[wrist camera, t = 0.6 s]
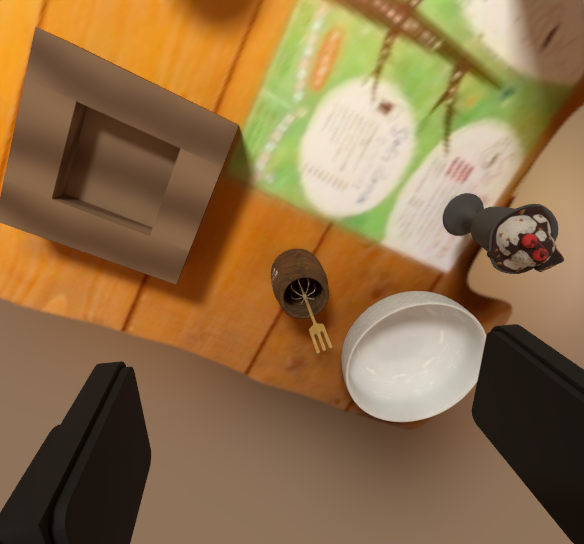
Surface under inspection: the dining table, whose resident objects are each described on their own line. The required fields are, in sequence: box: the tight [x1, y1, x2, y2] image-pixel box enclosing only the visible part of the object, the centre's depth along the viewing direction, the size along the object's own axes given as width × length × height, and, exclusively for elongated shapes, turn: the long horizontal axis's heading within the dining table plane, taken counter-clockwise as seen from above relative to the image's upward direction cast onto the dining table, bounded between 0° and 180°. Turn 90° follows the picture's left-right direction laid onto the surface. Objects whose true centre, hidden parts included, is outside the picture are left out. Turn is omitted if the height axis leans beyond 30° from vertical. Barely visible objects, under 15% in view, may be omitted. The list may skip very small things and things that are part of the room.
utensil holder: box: [271, 249, 332, 353], centre depth 38 cm, size 6×6×12 cm
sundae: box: [443, 193, 564, 274], centre depth 36 cm, size 7×7×15 cm
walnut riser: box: [0, 27, 239, 284], centre depth 34 cm, size 16×16×6 cm
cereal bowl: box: [341, 291, 486, 422], centre depth 45 cm, size 17×17×7 cm
